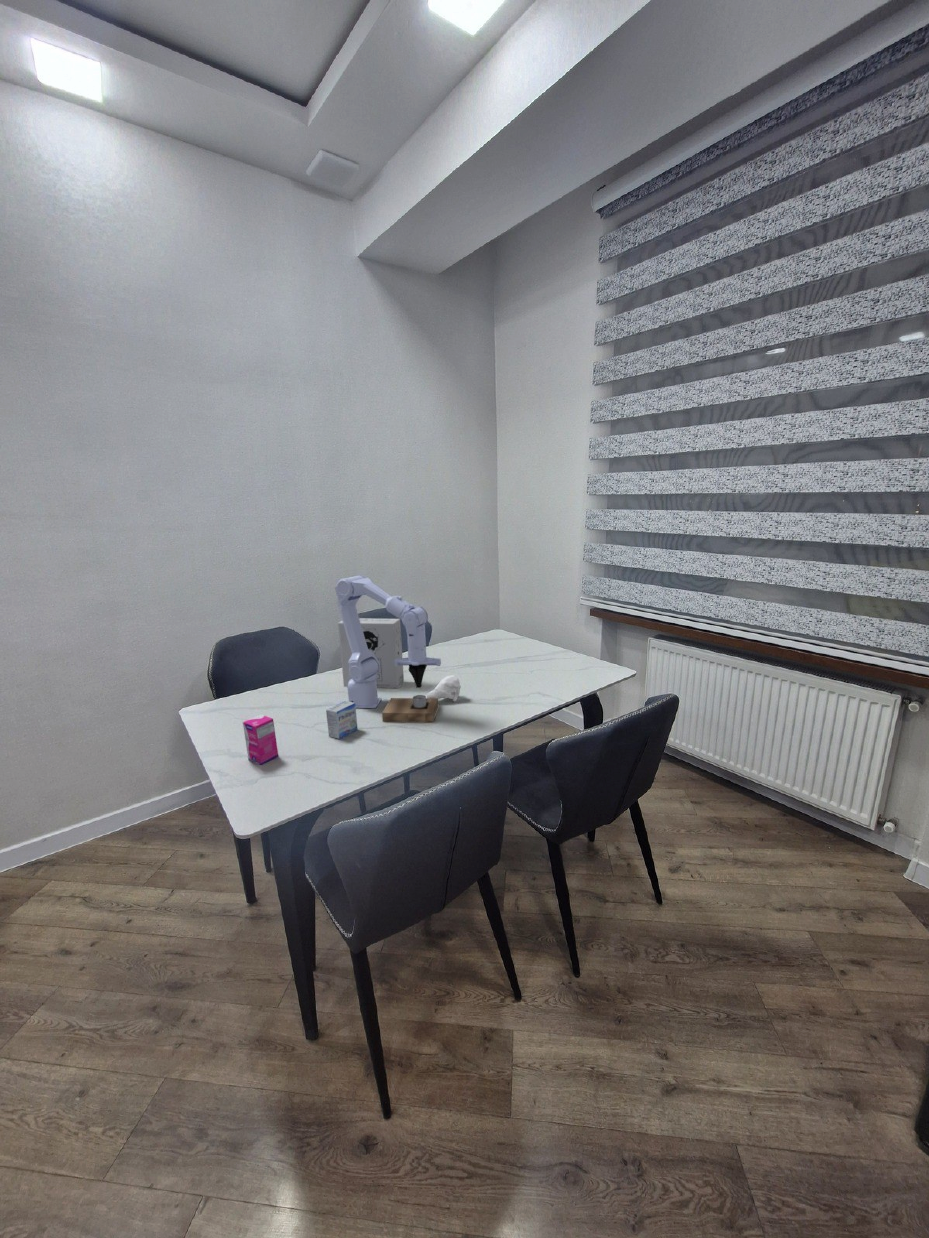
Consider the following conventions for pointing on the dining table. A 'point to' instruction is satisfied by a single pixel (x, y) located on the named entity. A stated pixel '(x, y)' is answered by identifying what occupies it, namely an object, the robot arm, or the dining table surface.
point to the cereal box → (377, 650)
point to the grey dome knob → (419, 702)
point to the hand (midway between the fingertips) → (419, 686)
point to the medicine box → (341, 719)
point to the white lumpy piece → (446, 689)
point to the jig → (409, 711)
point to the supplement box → (260, 739)
